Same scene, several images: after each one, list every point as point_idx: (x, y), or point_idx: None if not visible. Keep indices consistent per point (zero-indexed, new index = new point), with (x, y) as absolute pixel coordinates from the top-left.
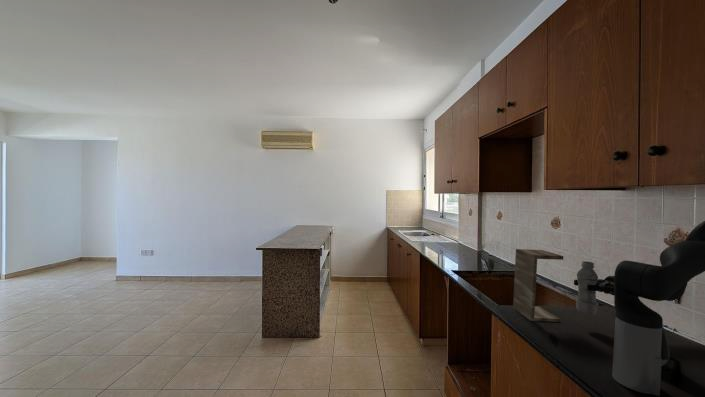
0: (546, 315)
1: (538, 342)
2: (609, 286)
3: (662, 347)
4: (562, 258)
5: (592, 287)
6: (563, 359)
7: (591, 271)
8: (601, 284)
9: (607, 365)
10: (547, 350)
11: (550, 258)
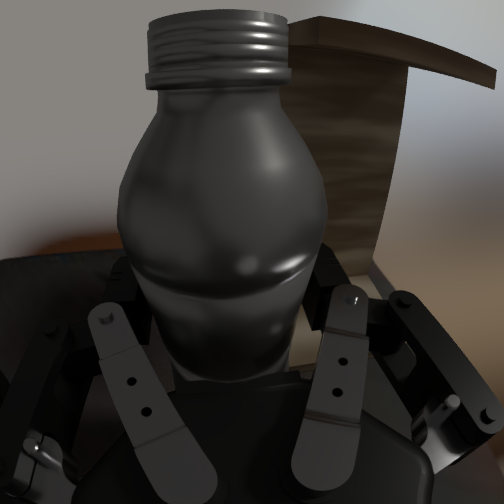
0: (305, 332)
1: (121, 254)
2: (112, 447)
3: None
4: (316, 34)
5: (116, 266)
6: (56, 263)
7: (146, 131)
8: (131, 347)
9: (14, 322)
10: (89, 254)
11: (288, 40)
